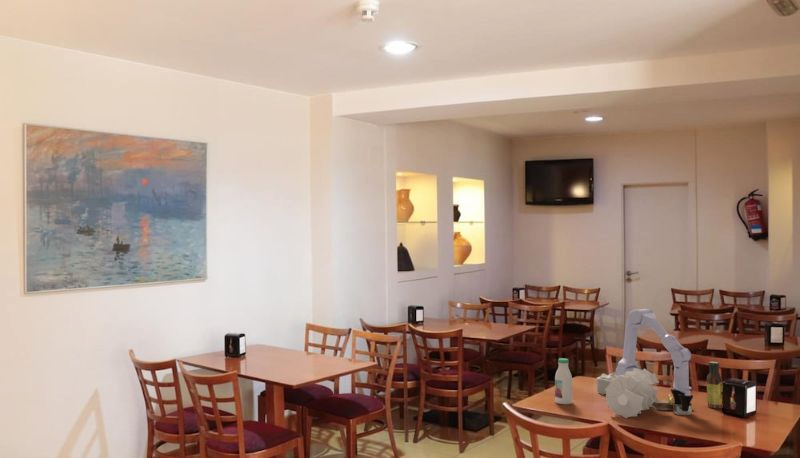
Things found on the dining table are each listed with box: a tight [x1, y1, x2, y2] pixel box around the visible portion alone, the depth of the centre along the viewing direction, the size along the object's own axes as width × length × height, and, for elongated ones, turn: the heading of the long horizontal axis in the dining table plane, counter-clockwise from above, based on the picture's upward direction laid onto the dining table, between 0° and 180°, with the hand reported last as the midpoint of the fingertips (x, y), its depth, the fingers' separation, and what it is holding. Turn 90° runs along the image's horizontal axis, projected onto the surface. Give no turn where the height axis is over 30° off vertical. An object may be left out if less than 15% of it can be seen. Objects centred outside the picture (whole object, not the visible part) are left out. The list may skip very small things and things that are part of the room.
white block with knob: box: [672, 404, 692, 416], centre depth 277 cm, size 6×4×4 cm
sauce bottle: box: [706, 361, 723, 409], centre depth 286 cm, size 7×6×20 cm
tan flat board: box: [652, 398, 693, 411], centre depth 285 cm, size 16×6×3 cm, turn 87°
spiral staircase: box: [605, 368, 660, 419], centre depth 279 cm, size 18×18×25 cm
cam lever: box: [667, 393, 674, 405], centre depth 282 cm, size 8×2×2 cm, turn 161°
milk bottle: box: [554, 357, 573, 405], centre depth 296 cm, size 8×8×20 cm
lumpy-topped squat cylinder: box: [596, 373, 616, 395], centre depth 315 cm, size 10×13×9 cm
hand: (681, 408), depth 277 cm, fingers open, 7 cm apart
